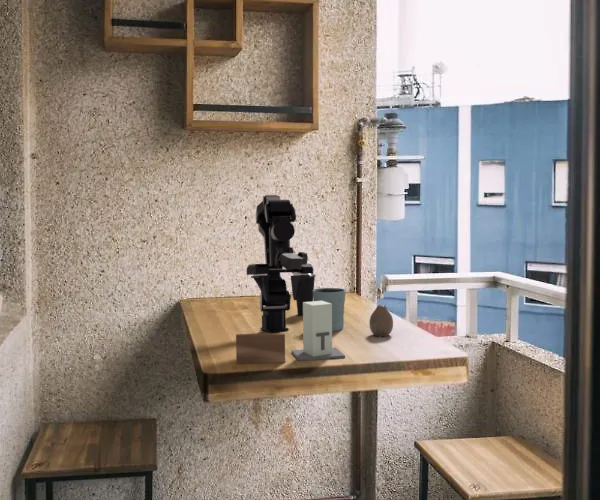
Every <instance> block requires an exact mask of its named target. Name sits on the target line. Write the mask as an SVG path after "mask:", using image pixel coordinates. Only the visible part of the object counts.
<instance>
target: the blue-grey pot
mask: <svg viewBox="0 0 600 500" xmlns="http://www.w3.org/2000/svg"><path fill="white" fill-rule="evenodd" d="M313 301H325V302H328V303H331V304H332V332H339V331H343V330H344V327H345V326H344V324H345V320H344V317H345V315H344V313H345V302H346V289H345V288H338V287H337V288H336V287H321V288H314V290H313Z"/></svg>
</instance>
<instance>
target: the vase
mask: <svg viewBox="0 0 600 500" xmlns="http://www.w3.org/2000/svg"><path fill="white" fill-rule="evenodd" d="M368 324H369V329H370V332H371V333H372V334H373V335H374V336H375V337H380V336H384V337H387V336H390V334H391V333H392V331H393V329H394V319H393V316H392V314H391V313H390V311H389V310H388V308H387V306H386V305H385V304H378V305H377V306H376V308H375V309H374V310H373V311H372V313H371V315H370V317H369V323H368Z"/></svg>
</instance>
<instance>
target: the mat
mask: <svg viewBox="0 0 600 500" xmlns="http://www.w3.org/2000/svg"><path fill="white" fill-rule="evenodd" d="M291 354H292V355H293V356H294V357H295V358H296V360H298V362H300V361H301V362H305V361H317V360H318V361H319V360H330V358H336V359H345V358H346V355H345V353H343V352H342V351H340V349H339V348H337V347H332V354H327V355H320V356H311V355H309V354H307V353H305V352H303V349H291Z"/></svg>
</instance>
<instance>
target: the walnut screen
mask: <svg viewBox="0 0 600 500" xmlns="http://www.w3.org/2000/svg"><path fill="white" fill-rule="evenodd" d="M235 346H236V349H235V350H236V351H235V352H236V353H235V354H236V356H235V357H236V364H240V365H241V364H275V363H276V364H278V363H286V334H285V332H284V333H280V332H279V333H278V332H277V333H244V334H243V333H242V334H241V333H240V334H238V333H237V334H235Z"/></svg>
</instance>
